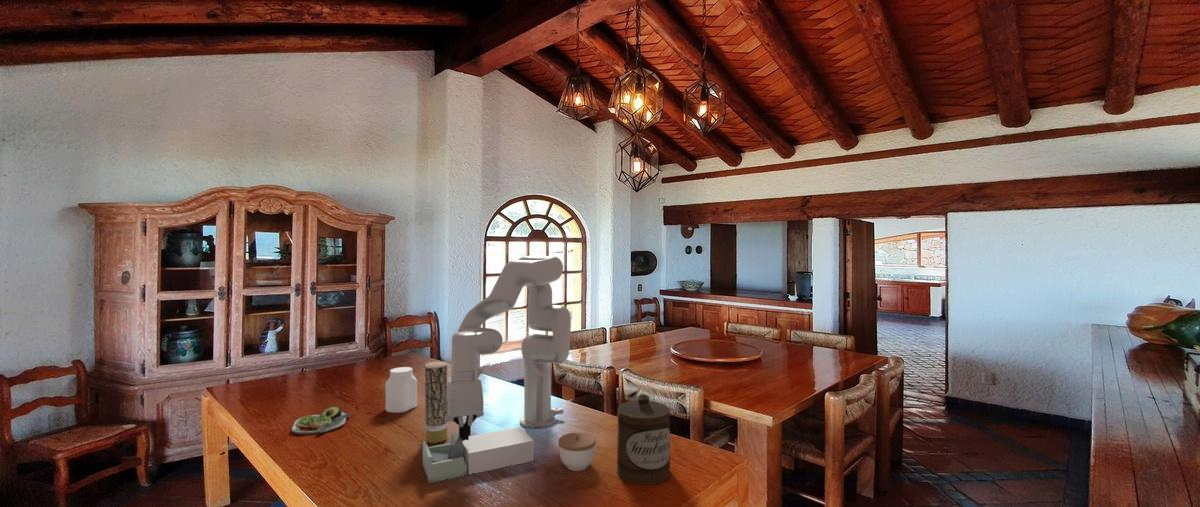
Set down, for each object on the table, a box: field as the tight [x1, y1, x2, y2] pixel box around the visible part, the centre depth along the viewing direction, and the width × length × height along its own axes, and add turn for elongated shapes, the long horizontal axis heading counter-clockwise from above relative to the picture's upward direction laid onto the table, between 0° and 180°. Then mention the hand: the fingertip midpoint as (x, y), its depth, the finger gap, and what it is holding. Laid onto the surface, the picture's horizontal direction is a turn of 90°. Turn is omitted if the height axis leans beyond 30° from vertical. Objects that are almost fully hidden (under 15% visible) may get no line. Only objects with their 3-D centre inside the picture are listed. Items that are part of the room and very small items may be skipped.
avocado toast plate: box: [291, 406, 352, 436], centre depth 169 cm, size 19×18×5 cm
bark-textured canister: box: [424, 361, 448, 444], centre depth 157 cm, size 7×7×25 cm
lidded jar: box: [558, 432, 597, 472], centre depth 139 cm, size 11×11×9 cm
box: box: [422, 440, 468, 484], centre depth 136 cm, size 10×12×7 cm
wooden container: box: [616, 393, 671, 486], centre depth 135 cm, size 15×15×22 cm
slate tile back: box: [449, 432, 463, 459], centre depth 138 cm, size 6×6×2 cm
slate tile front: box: [430, 452, 451, 463], centre depth 136 cm, size 6×6×2 cm
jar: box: [384, 366, 418, 414], centre depth 189 cm, size 12×10×15 cm
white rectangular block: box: [461, 426, 535, 475], centre depth 143 cm, size 19×12×6 cm, turn 118°
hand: (464, 438), depth 139 cm, fingers closed
